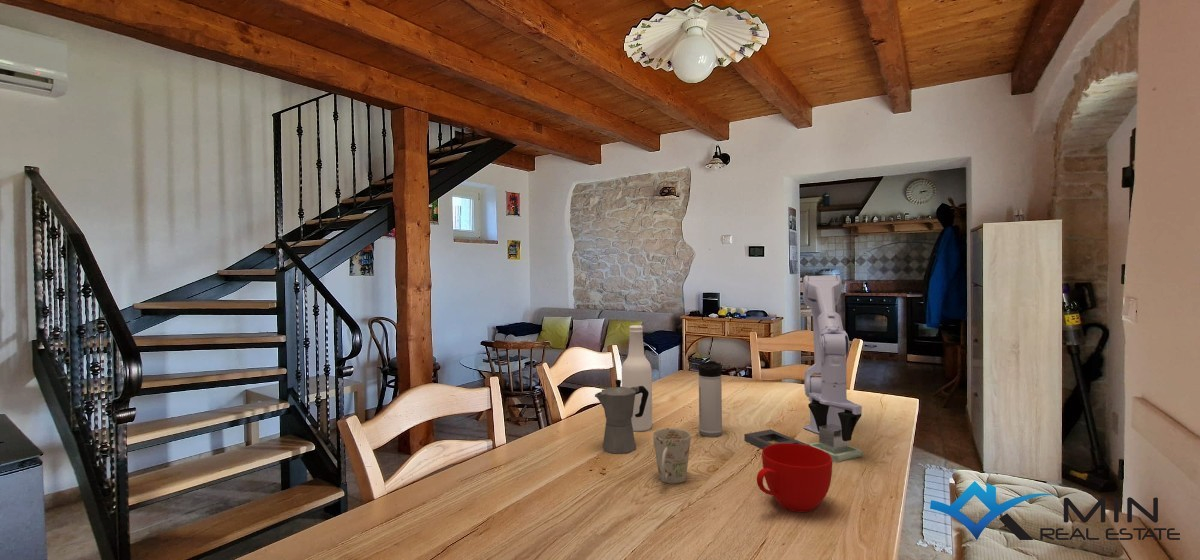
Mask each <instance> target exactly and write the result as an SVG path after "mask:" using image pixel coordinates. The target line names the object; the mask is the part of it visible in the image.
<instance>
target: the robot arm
mask: <svg viewBox="0 0 1200 560" xmlns="http://www.w3.org/2000/svg"><path fill="white" fill-rule="evenodd" d="M842 283H843V282H842V277H840V276H839V274H835V275H805V276H804V277H803V278H802V294H803V296H802V297H803V298H802V299H803V302H804V303H803V304H804V305H805V306H807V307H808V308H810V310H811V315H812V330H813V331H812V332H813V355H814V364H812V365H811V366H809V367H808V368H806V369H805V372H804V383H803V384H804V385H803V386H804V395H805V396H806V397H807V398H808V401H809V403H807V404H808V409H809V425H804V426H803V427H802V428H803V429H806V430H808V431H811V432H813V433H816V434H818V435H819V426H824V425H830V424H834V425H837V426H840V427H841V428H842V440H843V441H847V442H850V441H851V440H852V438H853V433H854V430H855V427H856V426H857V423H858V421H859V420H860V418H861V417H862V413H863V409H862V407H863V406H862V405H860V404H857V403H855V402H853V401H851V400H849V399H847V396H848V395H847V394H848V393H847V389H848V387H847V384H848V383H847V358H848V357H849V355H850V339H849V336H848V333H847V332H846V330H844V327H843V321H842V317H841V315H840V313H838V312H836V306H838V304H839V302H840V299H841V298H840V297H841V295H842V291H843V289H842V288H843V286H842V285H843V284H842Z"/></svg>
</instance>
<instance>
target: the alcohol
mask: <svg viewBox="0 0 1200 560" xmlns="http://www.w3.org/2000/svg"><path fill="white" fill-rule="evenodd" d="M628 328H629V330H628V332H629V336H628V337H629V338H628V339H629V340H628V353H627V357H626V359H625V360H624V361H623V363H622V365H621V366H622V367H621V387H626V388H631V387H638V386H644V387H645V388H646V389H647V390H648V392H649V395H648V398H647V402H646V405H645V409H644V412H643V415H642V416H641V417H635V414H638V413H639V407H640V404H641V398H642V395H643V394H642V393H639V394H636V395H635V400H634V408H633V416H632V417H631V422H632V427H633V432H645V431H646V432H647V431H649V430H651V428H652V426H653V384H652V383H653V381H652V380H653V377H652V376H653V375H652V374H653V373H652V369H653V368H652V365H651V363H650V361H649V360H648V358H646V355H645V348H644V347H645V346H644V338H643V337H644V336H643V335H644V334H643V332H644V330H643V328H644V327H643V325H638V324H637V325H636V324H635V325H630V326H629V327H628Z"/></svg>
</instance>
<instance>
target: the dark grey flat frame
mask: <svg viewBox="0 0 1200 560" xmlns="http://www.w3.org/2000/svg"><path fill="white" fill-rule="evenodd" d="M743 437H744V439H743V440H744V442H746V443H749V444H750V445H752V446H755V447H756V448H759V449H761V450H763V449H764V448H765V447H767V446H769V445H773V444H781V443H792V444H801V445H807V446H810V445H808V444H809V443H806V442H805V443H804V442H802V441H799V440H798V439H795V438H792V437H790V436H789V435H785V434H783V433H780V432H778V431H776V430H774V429H773V430H772V429H766V430H761V431H760V430H759V431H755V432H749V433H748V432H747V433H744V435H743ZM770 441H776V442H773V443H771V442H770ZM811 447H812V446H811ZM828 454H829V453H828Z"/></svg>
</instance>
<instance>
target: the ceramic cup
mask: <svg viewBox="0 0 1200 560" xmlns="http://www.w3.org/2000/svg"><path fill="white" fill-rule="evenodd" d="M772 444H773V443H772ZM761 460H762V468H761V469H760V470H759V471H758V472H757V475H756V484H757V486H758V489H760V490H761V491H762V492H763V493H765V494H766V495H770V496H773V497H774V498H775V500H776V501H777V502H778V503H779V505H780V506H781V507H783V508H784V509H786V510H789V511H792V512H797V513H808V512H811V511H813V510H815V508H816V507H817V506H818V505H820V504H821V502H823V500H824V499H825V498H826V496H827V494H828V491H829V490H830V486H831V482H832V476H833V475H832V474H833V461H832V457H831V456H830V455H829V454H828V453H827V452H825V451H823V450H821V449H818V448H815V447H811V446H807V445H801V444H792V443H781V444H773V445H769V446H767V447H765V448H764V449H762V451H761ZM764 479H765V482H766V485H767V487H768V489H767V488H766V487H765V485H764Z"/></svg>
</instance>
